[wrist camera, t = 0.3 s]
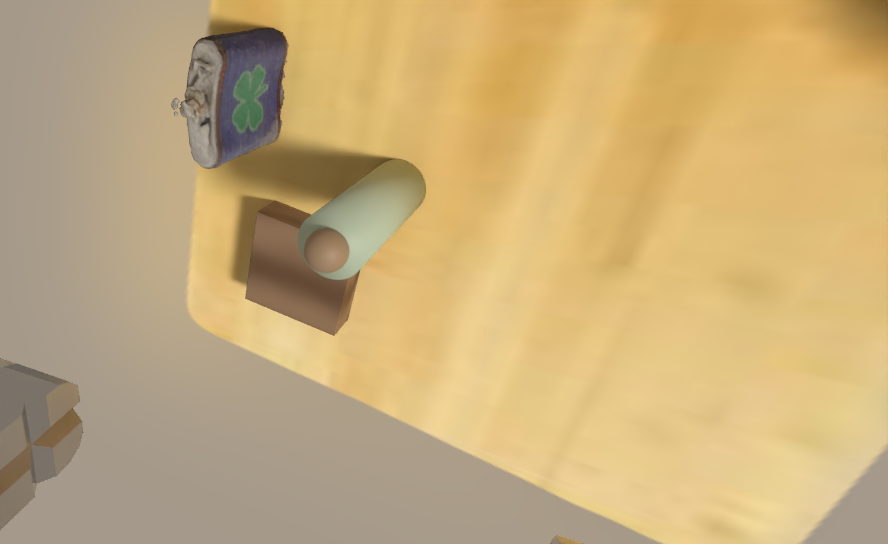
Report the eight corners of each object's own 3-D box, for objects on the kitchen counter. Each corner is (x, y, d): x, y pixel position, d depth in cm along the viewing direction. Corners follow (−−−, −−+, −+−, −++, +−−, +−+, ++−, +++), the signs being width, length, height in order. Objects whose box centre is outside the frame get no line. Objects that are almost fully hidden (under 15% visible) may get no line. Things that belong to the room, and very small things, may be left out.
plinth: (275, 200, 53) (257, 211, 50) (368, 237, 52) (354, 250, 49) (262, 284, 57) (245, 298, 54) (347, 319, 56) (334, 335, 53)
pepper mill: (379, 150, 48) (287, 212, 35) (432, 170, 47) (359, 240, 34) (367, 201, 50) (277, 277, 37) (417, 221, 50) (343, 304, 37)
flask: (280, 145, 50) (201, 181, 41) (249, 135, 51) (164, 168, 41) (291, 31, 46) (206, 42, 36) (257, 21, 46) (164, 29, 37)
